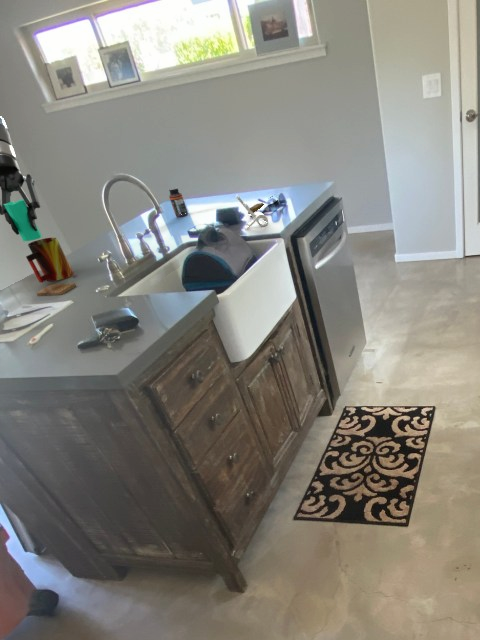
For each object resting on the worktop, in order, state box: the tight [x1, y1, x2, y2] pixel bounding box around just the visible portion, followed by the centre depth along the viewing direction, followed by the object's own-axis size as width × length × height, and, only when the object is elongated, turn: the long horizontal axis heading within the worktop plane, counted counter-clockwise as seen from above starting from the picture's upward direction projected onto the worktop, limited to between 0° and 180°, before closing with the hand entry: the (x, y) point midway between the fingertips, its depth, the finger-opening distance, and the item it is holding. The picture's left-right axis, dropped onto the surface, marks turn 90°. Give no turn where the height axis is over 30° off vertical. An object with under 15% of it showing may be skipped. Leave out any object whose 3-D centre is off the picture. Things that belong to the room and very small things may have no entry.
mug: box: [25, 236, 75, 284], centre depth 186 cm, size 10×14×12 cm
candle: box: [4, 196, 43, 242], centre depth 165 cm, size 6×6×12 cm
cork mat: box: [36, 282, 77, 297], centre depth 177 cm, size 10×8×1 cm
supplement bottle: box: [168, 187, 189, 218], centre depth 245 cm, size 6×6×11 cm
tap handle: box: [247, 195, 273, 218], centre depth 237 cm, size 3×3×30 cm
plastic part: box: [235, 194, 269, 231], centre depth 211 cm, size 8×10×12 cm
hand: (25, 229), depth 164 cm, fingers closed on candle, 5 cm apart
